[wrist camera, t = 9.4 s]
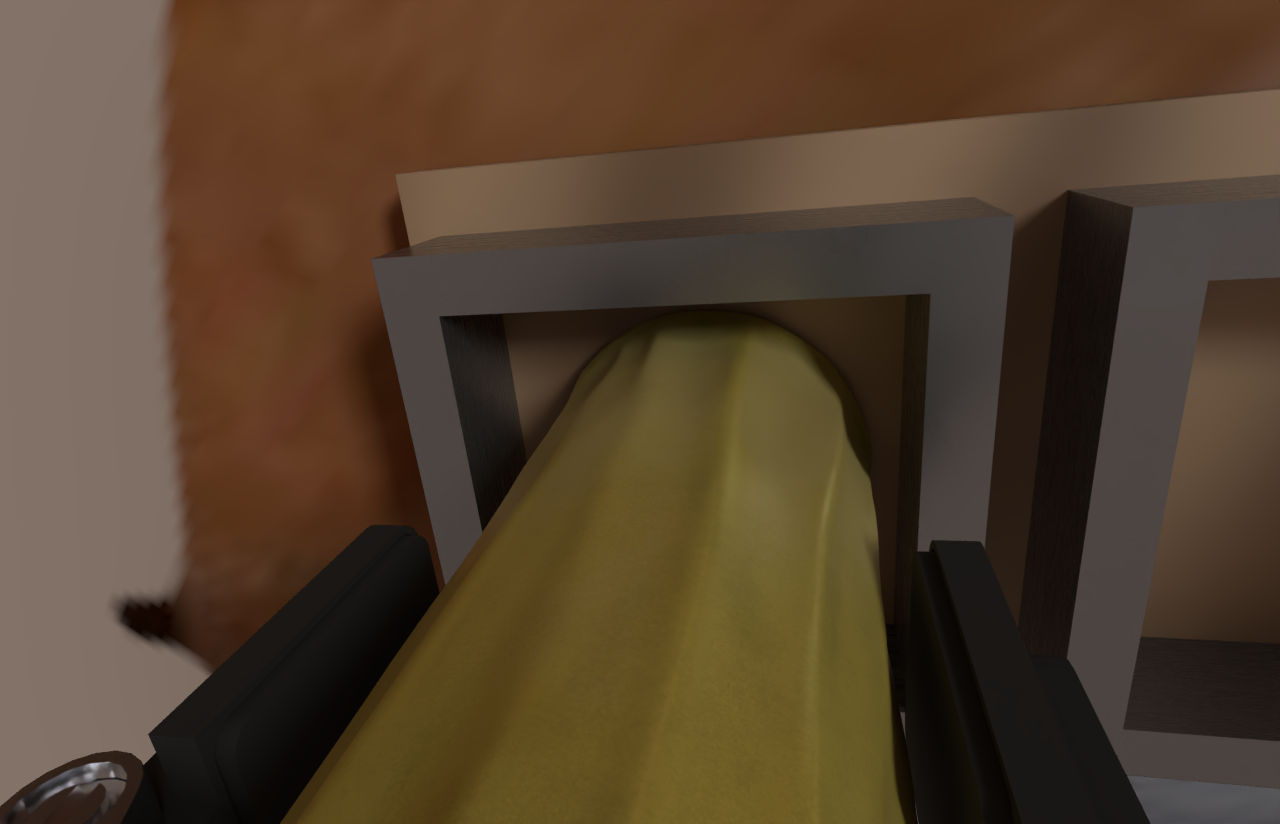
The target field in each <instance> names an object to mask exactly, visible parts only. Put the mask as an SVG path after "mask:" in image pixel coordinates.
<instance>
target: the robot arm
mask: <svg viewBox="0 0 1280 824" xmlns="http://www.w3.org/2000/svg"><path fill="white" fill-rule="evenodd" d="M438 595H439V589H438V585H437V581H436V576H435V572H434V568H433V564H432V559H431V555H430V551H429V546H428V544H427V541H426V540H425V538H424V537H422V536H418V534H417V532H416V531H415V530H414V528H412V527H410V526H395V525H372V526H370V527H368V528H367V529H366V530H365V531H363V532H362V533H361V534H360V535H359V536H358V537H357V538H356V539H355V540H354V541H353V542H352V543H351V544H350V545H349V546H348V547H346V548H345V549H344V550H343V551H342V552H341V553H340V554H339V555H338V556H337V557H336V558H335V559H334V560H333V561H332V562H331V563H330V564H328V565H327V566H326V567H325V568H324V569H323V570H322V571H321V572H320V573H319V574H318V575H317V576H316V577H315V578H314V579H313V580H311V581H310V582H309V583H308V584H307V585H306V586H305V587H304V588H303V589H302V590H301V591H300V592H299V593H298V594H297V595H296V596H294V597H293V598H292V599H291V600H290V601H289V602H288V603H287V604H286V605H285V606H284V607H283V608H282V609H281V610H280V611H279V612H278V613H276V614H275V615H274V616H273V617H272V618H271V619H270V620H269V621H268V622H267V623H266V624H265V625H264V626H263V627H262V628H261V629H259V630H258V631H257V632H256V633H255V634H254V635H253V636H252V637H251V638H250V639H249V640H248V641H247V642H246V643H245V644H244V645H242V646H241V647H240V648H239V649H238V650H237V651H236V652H235V653H234V654H233V655H232V656H231V657H230V658H229V659H228V660H227V661H226V662H224V663H223V664H222V665H221V666H220V667H219V668H218V669H217V670H216V671H215V672H214V673H213V674H212V675H211V676H210V677H209V678H207V679H206V680H205V681H204V682H203V683H202V684H201V685H200V686H199V687H198V688H197V689H196V690H195V691H194V692H193V693H192V694H191V695H189V696H188V697H187V698H186V699H185V700H184V701H183V702H182V703H181V704H180V705H179V706H178V707H177V708H176V709H175V710H174V711H173V712H171V713H170V714H169V715H168V716H167V717H166V718H165V719H164V720H163V721H162V722H161V723H160V724H159V725H158V726H157V727H156V728H155V729H154V730H152V731H151V732H150V733H149V734H148V735H149V737H150V739H151V742H152V744H153V746H154V748H155V751H156V753H155V754H154V755H153V756H152V757H151V758H150V759H149V760H148V761H147V762H146V763H145V764H144V765H143V764H142V762H141V760H139V759H138V758H137V757H136V756H134V755H133V754H131V753H127V752H121V751H109V752H101V753H95V754H91V755H88V756H85V757H82V758H78V759H75V760H72V761H70V762H68V763H66V764H64V765H62V766H59V767H57V768H55V769H53V770H51V771H49V772H47V773H45V774H44V775H42V776H40V777H39V778H37V779H36V780H34V781H33V782H31V783H29V784H28V785H26V786H25V787H23V788H22V789H21V790H19V791H18V792H17V793H16V794H14V795H13V796H12V797H11V798H10V799H9V800H7V801H6V802H5V803H4V804H2V805H1V806H0V824H280V823H281V822H282V820H283V819H284V817H285V816H286V815H287V813H288V812H289V810H290V809H291V807H292V806H293V804H294V803H295V801H296V800H297V799H298V797H299V796H300V794H301V793H302V791H303V790H304V788H305V787H306V786H307V784H308V783H309V781H310V780H311V778H312V777H313V776H314V774H315V773H316V771H317V770H318V768H319V767H320V766H321V764H322V763H323V761H324V760H325V758H326V757H327V755H328V754H329V753H330V751H331V750H332V748H333V747H334V745H335V744H336V742H337V741H338V740H339V738H340V737H341V735H342V734H343V732H344V731H345V729H346V728H347V726H348V725H349V724H350V722H351V721H352V719H353V718H354V716H355V715H356V713H357V712H358V710H359V709H360V707H361V706H362V704H363V703H364V702H365V700H366V699H367V697H368V696H369V694H370V693H371V691H372V690H373V688H374V687H375V685H376V684H377V682H378V681H379V679H380V678H381V676H382V675H383V673H384V672H385V670H386V669H387V667H388V666H389V665H390V663H391V662H392V660H393V659H394V657H395V656H396V654H397V653H398V652H399V650H400V649H401V647H402V646H403V644H404V643H405V642H406V640H407V639H408V637H409V636H410V634H411V633H412V632H413V630H414V629H415V627H416V626H417V624H418V623H419V622H420V620H421V619H422V617H423V616H424V615H425V613H426V612H427V610H428V609H429V608H430V606H431V605H432V603H433V602H434V601H435V599H436V598H437V597H438ZM905 738H906V745H907V750H908V756H909V762H910V768H911V775H912V781H913V790H914V797H915V803H916V809H917V815H918V821H919V824H1150V822H1149V820H1148V818H1147V816H1146V814H1145V812H1144V810H1143V808H1142V806H1141V804H1140V802H1139V800H1138V798H1137V796H1136V794H1135V792H1134V790H1133V788H1132V785H1131V783H1130V781H1129V779H1128V777H1127V775H1126V773H1125V771H1124V769H1123V767H1122V765H1121V763H1120V761H1119V759H1118V757H1117V755H1116V753H1115V751H1114V749H1113V747H1112V745H1111V743H1110V741H1109V739H1108V737H1107V735H1106V733H1105V730H1104V728H1103V726H1102V724H1101V722H1100V720H1099V718H1098V716H1097V714H1096V712H1095V710H1094V708H1093V706H1092V704H1091V702H1090V700H1089V698H1088V696H1087V694H1086V692H1085V690H1084V688H1083V686H1082V684H1081V682H1080V680H1079V678H1078V675H1077V673H1076V671H1075V670H1074V668H1073V666H1072V665H1071V663H1070V662H1069V660H1068V659H1066V658H1065V657H1063V656H1057V655H1040V654H1029V653H1028V651H1027V649H1026V646H1025V644H1024V641H1023V639H1022V637H1021V634H1020V632H1019V629H1018V627H1017V625H1016V622H1015V620H1014V618H1013V615H1012V613H1011V610H1010V608H1009V606H1008V603H1007V601H1006V599H1005V596H1004V594H1003V591H1002V589H1001V587H1000V584H999V582H998V579H997V577H996V575H995V572H994V570H993V568H992V565H991V563H990V560H989V558H988V556H987V553H986V551H985V548H984V546H983V545H982V543H981V542H979V541H954V540H932V541H931V543H930V548H929V552H928V551H914V554H913V561H912V581H911V601H910V622H909V642H908V663H907V683H906V703H905Z"/></svg>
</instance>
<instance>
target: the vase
mask: <svg viewBox="0 0 1280 824" xmlns="http://www.w3.org/2000/svg"><path fill="white" fill-rule="evenodd" d="M871 463H872V450H871V445H870V441H869V436H868V432H867V428H866V425H865V421H864V419H863V416H862V414H861V411H860V408H859V406H858V404H857V402H856V400H855V399H854V397H853V395H852V393H851V391H850V390H849V388H848V386H847V384H846V382H845V381H844V379H843V378H842V377H841V375H840V374H839V372H838V371H837V370H836V368H835V367H834V366H833V365H832V364H831V363H830V362H829V361H828V360H827V359H826V358H825V357H824V356H823V355H822V354H821V353H820V352H818V351H817V350H816V349H814V348H813V347H812V346H811V345H809V344H808V343H807V342H805V341H804V340H802V339H801V338H799V337H798V336H796V335H794V334H793V333H791V332H789V331H788V330H786V329H784V328H782V327H780V326H778V325H776V324H774V323H771V322H769V321H766V320H764V319H761V318H759V317H755V316H751V315H746V314H742V313H735V312H728V311H708V310H707V311H687V312H680V313H674V314H669V315H665V316H661V317H658V318H655V319H652V320H649V321H647V322H644V323H642V324H640V325H637V326H636V327H634V328H632V329H631V330H629V331H627V332H625V333H624V334H622V335H621V336H619V337H618V338H616V339H615V340H613V341H612V342H611V343H610V344H608V345H607V346H606V347H605V348H604V349H602V350H601V351H600V352H599V353H598V354H597V355H596V356H595V357H594V358H593V359H592V361H591V362H590V363H589V364H588V365H587V367H586V368H585V369H584V370H583V371H582V373H581V374H580V376H579V378H578V380H577V382H576V384H575V386H574V389H573V391H572V393H571V395H570V398H569V401H568V402H567V404H566V406H565V407H564V409H563V411H562V412H561V414H560V415H559V416H558V418H557V419H556V421H555V422H554V424H553V425H552V427H551V428H550V430H549V432H548V433H547V435H546V436H545V438H544V439H543V440H542V442H541V443H540V445H539V446H538V447H537V449H536V450H535V452H534V453H533V454H532V456H531V457H530V459H529V460H528V462H527V463H526V465H525V466H524V468H523V469H522V471H521V472H520V474H519V476H518V477H517V479H516V481H515V482H514V484H513V486H512V487H511V489H510V491H509V492H508V494H507V495H506V497H505V498H504V500H503V502H502V503H501V505H500V506H499V508H498V509H497V511H496V512H495V514H494V516H493V517H492V519H491V520H490V522H489V523H488V525H487V526H486V528H485V529H484V531H483V533H482V534H481V536H480V537H479V539H478V540H477V542H476V543H475V545H474V546H473V548H472V549H471V551H470V552H469V554H468V555H467V556H466V558H465V559H464V561H463V562H462V563H461V565H460V566H459V568H458V569H457V570H456V572H455V573H454V575H453V576H452V577H451V579H450V580H449V582H448V583H447V584H446V586H445V587H444V588H443V590H442V591H441V592H440V594H439V595H438V597H437V598H436V599H435V601H434V602H433V603H432V605H431V606H430V608H429V609H428V610H427V612H426V613H425V615H424V616H423V617H422V619H421V620H420V622H419V623H418V624H417V626H416V627H415V629H414V630H413V632H412V633H411V634H410V636H409V637H408V639H407V640H406V642H405V643H404V644H403V646H402V647H401V649H400V650H399V652H398V653H397V654H396V656H395V657H394V659H393V660H392V662H391V663H390V665H389V666H388V667H387V669H386V670H385V672H384V673H383V675H382V676H381V678H380V679H379V681H378V682H377V684H376V685H375V687H374V688H373V690H372V691H371V693H370V694H369V696H368V697H367V699H366V700H365V702H364V703H363V704H362V706H361V707H360V709H359V710H358V712H357V713H356V715H355V716H354V718H353V719H352V721H351V722H350V724H349V725H348V726H347V728H346V729H345V731H344V732H343V734H342V735H341V737H340V738H339V740H338V741H337V742H336V744H335V745H334V747H333V748H332V750H331V751H330V753H329V754H328V755H327V757H326V758H325V760H324V761H323V763H322V764H321V766H320V767H319V768H318V770H317V771H316V773H315V774H314V776H313V777H312V778H311V780H310V781H309V783H308V784H307V786H306V787H305V788H304V790H303V791H302V793H301V794H300V796H299V797H298V799H297V800H296V801H295V803H294V804H293V806H292V807H291V809H290V810H289V812H288V813H287V815H286V816H285V817H284V819H283V820H282V822H281V823H280V824H918V821H917V815H916V807H915V798H914V790H913V781H912V775H911V768H910V762H909V756H908V750H907V745H906V739H905V734H904V728H903V723H902V718H901V713H900V708H899V703H898V697H897V692H896V687H895V682H894V677H893V673H892V668H891V663H890V659H889V654H888V649H887V637H886V626H885V616H884V608H883V600H882V591H881V580H880V568H879V545H878V531H877V521H876V513H875V507H874V502H873V497H872V489H871V481H870V476H869V474H870V469H871Z"/></svg>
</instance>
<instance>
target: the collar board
mask: <svg viewBox="0 0 1280 824" xmlns="http://www.w3.org/2000/svg"><path fill="white" fill-rule="evenodd" d="M1277 174H1280V88H1272V89H1262V90H1252V91H1241V92H1231V93H1221V94H1210V95H1200V96H1189V97H1179V98H1169V99H1158V100H1148V101H1138V102H1127V103H1117V104H1107V105H1096V106H1086V107H1076V108H1065V109H1055V110H1045V111H1034V112H1024V113H1013V114H1003V115H993V116H982V117H972V118H962V119H951V120H941V121H931V122H920V123H910V124H900V125H889V126H879V127H869V128H858V129H848V130H838V131H827V132H817V133H806V134H796V135H786V136H775V137H765V138H755V139H744V140H734V141H724V142H713V143H703V144H693V145H682V146H672V147H662V148H651V149H641V150H630V151H620V152H610V153H599V154H589V155H579V156H568V157H558V158H548V159H537V160H527V161H517V162H506V163H496V164H486V165H475V166H465V167H454V168H444V169H434V170H424V171H417V172H410V173H402V174H395V176H396V180H397V185H398V190H399V195H400V200H401V205H402V209H403V214H404V219H405V224H406V229H407V234H408V239H409V243H410V246H412V245H415V244H418V243H421V242H424V241H427V240H430V239H434V238H437V237H440V236H449V235H462V234H476V233H489V232H503V231H516V230H530V229H544V228H557V227H571V226H584V225H598V224H611V223H625V222H639V221H652V220H666V219H679V218H693V217H706V216H720V215H734V214H747V213H761V212H774V211H788V210H801V209H815V208H829V207H842V206H856V205H869V204H883V203H896V202H910V201H924V200H937V199H951V198H964V197H975V198H978V199H980V200H982V201H984V202H986V203H988V204H991V205H993V206H995V207H997V208H999V209H1002V210H1004V211H1006V212H1008V213H1010V214H1012V215H1015V218H1014V229H1013V240H1012V251H1011V262H1010V273H1009V284H1008V295H1007V306H1006V317H1005V328H1004V339H1003V350H1002V362H1001V373H1000V384H999V395H998V406H997V417H996V428H995V439H994V450H993V461H992V472H991V483H990V494H989V506H988V517H987V528H986V539H985V551H986V553H987V556H988V558H989V560H990V563H991V565H992V568H993V570H994V572H995V575H996V577H997V579H998V582H999V584H1000V587H1001V589H1002V591H1003V594H1004V596H1005V599H1006V601H1007V603H1008V606H1009V608H1010V610H1011V613H1012V615H1013V618H1014V620H1015V622H1016V625H1017V627H1018V622H1019V613H1020V604H1021V596H1022V587H1023V578H1024V570H1025V561H1026V552H1027V544H1028V535H1029V526H1030V517H1031V509H1032V500H1033V491H1034V483H1035V474H1036V465H1037V456H1038V448H1039V439H1040V430H1041V422H1042V413H1043V404H1044V395H1045V387H1046V378H1047V369H1048V361H1049V352H1050V343H1051V335H1052V326H1053V317H1054V308H1055V300H1056V291H1057V282H1058V274H1059V265H1060V256H1061V247H1062V239H1063V230H1064V221H1065V213H1066V204H1067V195H1068V190H1073V189H1087V188H1100V187H1114V186H1127V185H1141V184H1154V183H1168V182H1182V181H1195V180H1209V179H1222V178H1236V177H1249V176H1263V175H1277ZM905 303H906V295H888V296H867V297H845V298H824V299H802V300H780V301H759V302H737V303H716V304H694V305H672V306H651V307H629V308H608V309H586V310H565V311H543V312H521V313H502V315H503V321H504V327H505V333H506V339H507V345H508V351H509V357H510V363H511V369H512V375H513V381H514V387H515V393H516V399H517V405H518V411H519V417H520V423H521V429H522V435H523V441H524V447H525V453H526V459H527V462H528V460H529V459H530V457H531V456H532V454H533V453H534V452H535V450H536V449H537V447H538V446H539V445H540V443H541V442H542V440H543V439H544V438H545V436H546V435H547V433H548V432H549V430H550V428H551V427H552V425H553V424H554V422H555V421H556V419H557V418H558V416H559V415H560V414H561V412H562V411H563V409H564V407H565V406H566V404H567V402H568V401H569V398H570V395H571V393H572V391H573V389H574V386H575V384H576V382H577V380H578V378H579V376H580V374H581V373H582V371H583V370H584V369H585V368H586V367H587V365H588V364H589V363H590V362H591V361H592V359H593V358H594V357H595V356H596V355H597V354H598V353H599V352H600V351H601V350H602V349H604V348H605V347H606V346H607V345H608V344H610V343H611V342H612V341H613V340H615V339H616V338H618V337H619V336H621V335H622V334H624V333H625V332H627V331H629V330H631V329H632V328H634V327H636V326H637V325H640V324H642V323H644V322H647V321H649V320H652V319H655V318H658V317H661V316H665V315H669V314H674V313H680V312H687V311H707V310H708V311H728V312H735V313H742V314H746V315H751V316H755V317H759V318H761V319H764V320H766V321H769V322H771V323H774V324H776V325H778V326H780V327H782V328H784V329H786V330H788V331H789V332H791V333H793V334H794V335H796V336H798V337H799V338H801V339H802V340H804V341H805V342H807V343H808V344H809V345H811V346H812V347H813V348H814V349H816V350H817V351H818V352H820V353H821V354H822V355H823V356H824V357H825V358H826V359H827V360H828V361H829V362H830V363H831V364H832V365H833V366H834V367H835V368H836V370H837V371H838V372H839V374H840V375H841V377H842V378H843V379H844V381H845V382H846V384H847V386H848V388H849V390H850V391H851V393H852V395H853V397H854V399H855V400H856V402H857V404H858V406H859V408H860V411H861V414H862V416H863V419H864V421H865V425H866V428H867V432H868V436H869V441H870V445H871V450H872V463H871V469H870V474H869V476H870V481H871V489H872V497H873V502H874V507H875V513H876V521H877V531H878V545H879V568H880V580H881V591H882V600H883V608H884V616H885V624H893V611H894V586H895V560H896V534H897V508H898V483H899V457H900V431H901V406H902V380H903V354H904V328H905ZM1141 637H1160V638H1180V639H1200V640H1219V641H1239V642H1259V643H1278V644H1280V277H1277V278H1255V279H1234V280H1212V281H1208V285H1207V290H1206V296H1205V301H1204V306H1203V311H1202V317H1201V322H1200V327H1199V332H1198V338H1197V343H1196V348H1195V353H1194V359H1193V364H1192V369H1191V374H1190V380H1189V385H1188V390H1187V395H1186V401H1185V406H1184V411H1183V416H1182V422H1181V427H1180V432H1179V437H1178V443H1177V448H1176V453H1175V458H1174V464H1173V469H1172V474H1171V479H1170V485H1169V490H1168V495H1167V500H1166V506H1165V511H1164V516H1163V521H1162V527H1161V532H1160V537H1159V542H1158V548H1157V553H1156V558H1155V563H1154V569H1153V574H1152V579H1151V584H1150V590H1149V595H1148V600H1147V605H1146V611H1145V616H1144V621H1143V626H1142V632H1141Z"/></svg>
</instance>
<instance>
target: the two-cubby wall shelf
mask: <svg viewBox="0 0 1280 824" xmlns="http://www.w3.org/2000/svg"><path fill="white" fill-rule="evenodd" d="M1014 218H1015V215H1012V214H1010V213H1008V212H1006V211H1004V210H1002V209H999V208H997V207H995V206H993V205H991V204H988V203H986V202H984V201H982V200H980V199H978V198H975V197H964V198H951V199H937V200H924V201H910V202H896V203H883V204H869V205H856V206H842V207H829V208H815V209H801V210H788V211H774V212H761V213H747V214H734V215H720V216H706V217H693V218H679V219H666V220H652V221H639V222H625V223H611V224H598V225H584V226H571V227H557V228H544V229H530V230H516V231H503V232H489V233H476V234H462V235H449V236H440V237H437V238H434V239H430V240H427V241H424V242H421V243H418V244H415V245H412V246H409V247H406V248H403V249H400V250H397V251H394V252H391V253H388V254H385V255H382V256H379V257H376V258H373V259H371V260H372V264H373V269H374V273H375V278H376V282H377V286H378V291H379V295H380V300H381V304H382V308H383V313H384V317H385V322H386V326H387V330H388V335H389V339H390V344H391V348H392V352H393V357H394V361H395V366H396V370H397V374H398V379H399V383H400V388H401V392H402V396H403V401H404V405H405V410H406V414H407V418H408V423H409V427H410V432H411V436H412V440H413V445H414V449H415V454H416V458H417V462H418V467H419V471H420V476H421V480H422V484H423V489H424V493H425V498H426V502H427V506H428V511H429V515H430V520H431V524H432V528H433V533H434V537H435V542H436V546H437V550H438V555H439V559H440V564H441V568H442V572H443V577H444V581H445V586H446V584H447V583H448V582H449V580H450V579H451V577H452V576H453V575H454V573H455V572H456V570H457V569H458V568H459V566H460V565H461V563H462V562H463V561H464V559H465V558H466V556H467V555H468V554H469V552H470V551H471V549H472V548H473V546H474V545H475V543H476V542H477V540H478V539H479V537H480V536H481V534H482V533H483V531H484V529H485V528H486V526H487V525H488V523H489V522H490V520H491V519H492V517H493V516H494V514H495V512H496V511H497V509H498V508H499V506H500V505H501V503H502V502H503V500H504V498H505V497H506V495H507V494H508V492H509V491H510V489H511V487H512V486H513V484H514V482H515V481H516V479H517V477H518V476H519V474H520V472H521V471H522V469H523V468H524V466H525V465H526V463H527V459H526V453H525V447H524V441H523V435H522V429H521V423H520V417H519V411H518V405H517V399H516V393H515V387H514V381H513V375H512V369H511V363H510V357H509V351H508V345H507V339H506V333H505V327H504V321H503V315H502V313H521V312H543V311H565V310H586V309H608V308H629V307H651V306H672V305H694V304H716V303H737V302H759V301H780V300H802V299H824V298H845V297H867V296H888V295H906V303H905V328H904V354H903V380H902V406H901V431H900V457H899V483H898V508H897V534H896V560H895V586H894V611H893V624H885V626H886V637H887V649H888V654H889V659H890V663H891V668H892V673H893V677H894V682H895V687H896V692H897V697H898V703H899V708H900V713H901V718H902V723H903V728H904V734H905V703H906V683H907V663H908V642H909V622H910V601H911V581H912V561H913V554H914V551H928V552H929V548H930V543H931V541H932V540H954V541H979V542H981V543H982V545H983V546H984V548H985V539H986V528H987V517H988V506H989V494H990V483H991V472H992V461H993V450H994V439H995V428H996V417H997V406H998V395H999V384H1000V373H1001V362H1002V350H1003V339H1004V328H1005V317H1006V306H1007V295H1008V284H1009V273H1010V262H1011V251H1012V240H1013V229H1014ZM1277 277H1280V174H1277V175H1263V176H1249V177H1236V178H1222V179H1209V180H1195V181H1182V182H1168V183H1154V184H1141V185H1127V186H1114V187H1100V188H1087V189H1073V190H1068V195H1067V204H1066V213H1065V221H1064V230H1063V239H1062V247H1061V256H1060V265H1059V274H1058V282H1057V291H1056V300H1055V308H1054V317H1053V326H1052V335H1051V343H1050V352H1049V361H1048V369H1047V378H1046V387H1045V395H1044V404H1043V413H1042V422H1041V430H1040V439H1039V448H1038V456H1037V465H1036V474H1035V483H1034V491H1033V500H1032V509H1031V517H1030V526H1029V535H1028V544H1027V552H1026V561H1025V570H1024V578H1023V587H1022V596H1021V604H1020V613H1019V622H1018V629H1019V632H1020V634H1021V637H1022V639H1023V641H1024V644H1025V646H1026V649H1027V651H1028V653H1029V654H1040V655H1057V656H1063V657H1065V658H1066V659H1068V660H1069V662H1070V663H1071V665H1072V666H1073V668H1074V670H1075V671H1076V673H1077V675H1078V678H1079V680H1080V682H1081V684H1082V686H1083V688H1084V690H1085V692H1086V694H1087V696H1088V698H1089V700H1090V702H1091V704H1092V706H1093V708H1094V710H1095V712H1096V714H1097V716H1098V718H1099V720H1100V722H1101V724H1102V726H1103V728H1104V730H1105V733H1106V735H1107V737H1108V739H1109V741H1110V743H1111V745H1112V747H1113V749H1114V751H1115V753H1116V755H1117V757H1118V759H1119V761H1120V763H1121V765H1122V767H1123V769H1124V771H1125V773H1126V775H1133V776H1144V777H1155V778H1166V779H1178V780H1189V781H1200V782H1211V783H1222V784H1234V785H1245V786H1256V787H1267V788H1278V789H1280V644H1278V643H1259V642H1239V641H1219V640H1200V639H1180V638H1160V637H1141V632H1142V626H1143V621H1144V616H1145V611H1146V605H1147V600H1148V595H1149V590H1150V584H1151V579H1152V574H1153V569H1154V563H1155V558H1156V553H1157V548H1158V542H1159V537H1160V532H1161V527H1162V521H1163V516H1164V511H1165V506H1166V500H1167V495H1168V490H1169V485H1170V479H1171V474H1172V469H1173V464H1174V458H1175V453H1176V448H1177V443H1178V437H1179V432H1180V427H1181V422H1182V416H1183V411H1184V406H1185V401H1186V395H1187V390H1188V385H1189V380H1190V374H1191V369H1192V364H1193V359H1194V353H1195V348H1196V343H1197V338H1198V332H1199V327H1200V322H1201V317H1202V311H1203V306H1204V301H1205V296H1206V290H1207V285H1208V281H1212V280H1234V279H1255V278H1277ZM905 739H906V738H905Z"/></svg>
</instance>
